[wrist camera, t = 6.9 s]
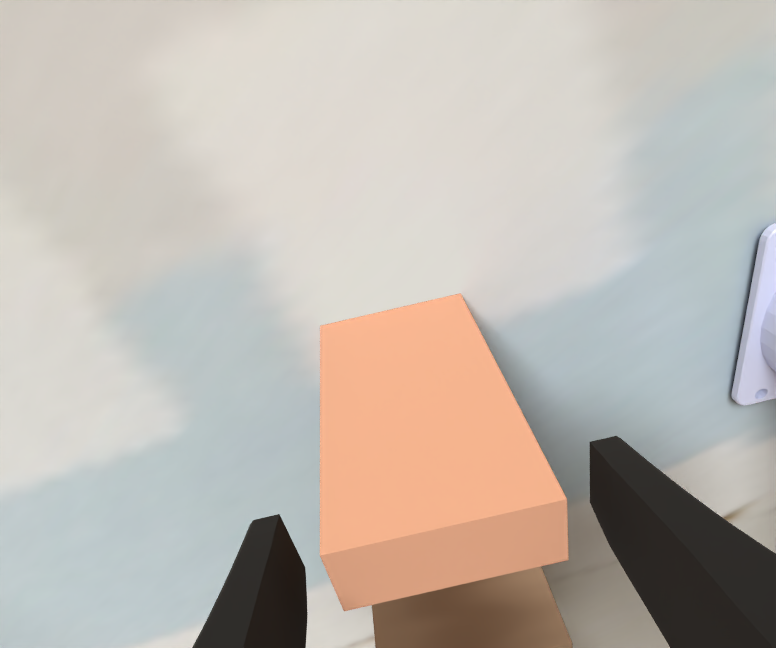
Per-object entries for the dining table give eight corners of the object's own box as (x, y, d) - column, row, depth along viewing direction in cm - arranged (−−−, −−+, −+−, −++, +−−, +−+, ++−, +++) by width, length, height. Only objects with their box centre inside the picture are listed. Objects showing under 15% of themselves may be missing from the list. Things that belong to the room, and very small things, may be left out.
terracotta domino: (460, 293, 18) (566, 498, 10) (467, 340, 19) (567, 560, 11) (320, 326, 18) (320, 555, 10) (334, 371, 19) (344, 611, 11)
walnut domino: (478, 412, 21) (572, 643, 13) (483, 447, 22) (573, 681, 14) (357, 440, 21) (379, 687, 13) (368, 474, 22) (394, 722, 14)
